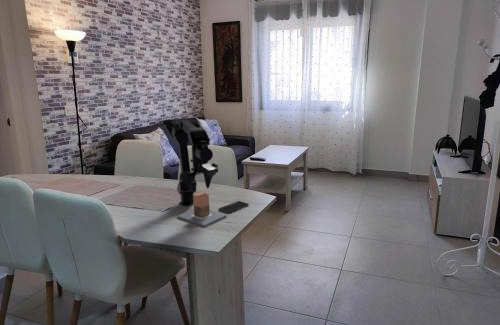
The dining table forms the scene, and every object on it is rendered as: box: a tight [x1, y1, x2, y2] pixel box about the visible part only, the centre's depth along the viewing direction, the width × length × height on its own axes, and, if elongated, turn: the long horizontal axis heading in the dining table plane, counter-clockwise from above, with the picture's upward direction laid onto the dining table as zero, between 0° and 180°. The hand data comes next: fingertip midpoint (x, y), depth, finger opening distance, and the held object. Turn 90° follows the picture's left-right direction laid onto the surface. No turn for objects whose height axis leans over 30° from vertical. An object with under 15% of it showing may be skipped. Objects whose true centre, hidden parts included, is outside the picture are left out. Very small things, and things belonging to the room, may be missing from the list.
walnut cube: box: [193, 204, 210, 218], centre depth 162 cm, size 5×5×5 cm
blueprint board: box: [177, 208, 227, 228], centre depth 162 cm, size 18×14×1 cm
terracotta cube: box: [192, 192, 210, 208], centre depth 160 cm, size 5×5×5 cm
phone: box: [218, 200, 250, 215], centre depth 174 cm, size 8×1×15 cm
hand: (200, 190), depth 159 cm, fingers open, 9 cm apart
